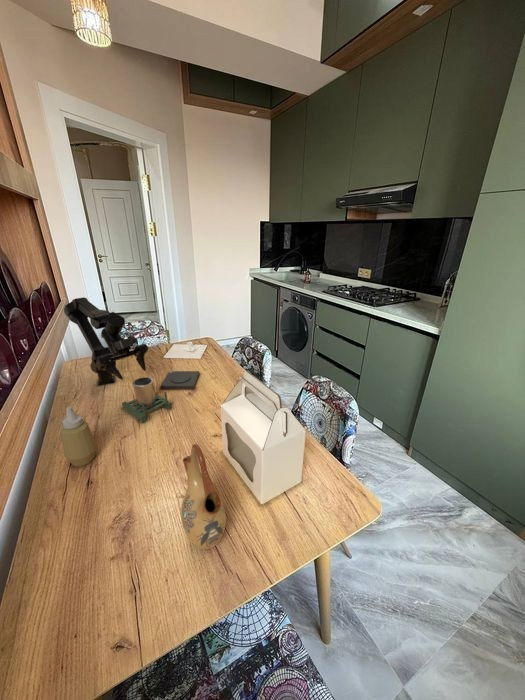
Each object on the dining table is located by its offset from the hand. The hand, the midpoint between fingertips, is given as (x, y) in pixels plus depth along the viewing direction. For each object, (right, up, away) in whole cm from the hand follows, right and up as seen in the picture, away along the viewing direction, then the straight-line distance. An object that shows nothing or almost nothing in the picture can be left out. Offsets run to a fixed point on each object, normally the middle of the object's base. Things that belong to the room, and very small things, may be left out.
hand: (133, 374), depth 109 cm
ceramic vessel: (+36, -33, -44) cm, 65 cm away
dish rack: (+5, -13, +1) cm, 14 cm away
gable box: (+48, -25, -25) cm, 59 cm away
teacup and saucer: (+6, +9, +53) cm, 54 cm away
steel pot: (+5, -11, 0) cm, 12 cm away
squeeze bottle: (-4, -23, -24) cm, 33 cm away
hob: (+12, -5, +21) cm, 25 cm away
